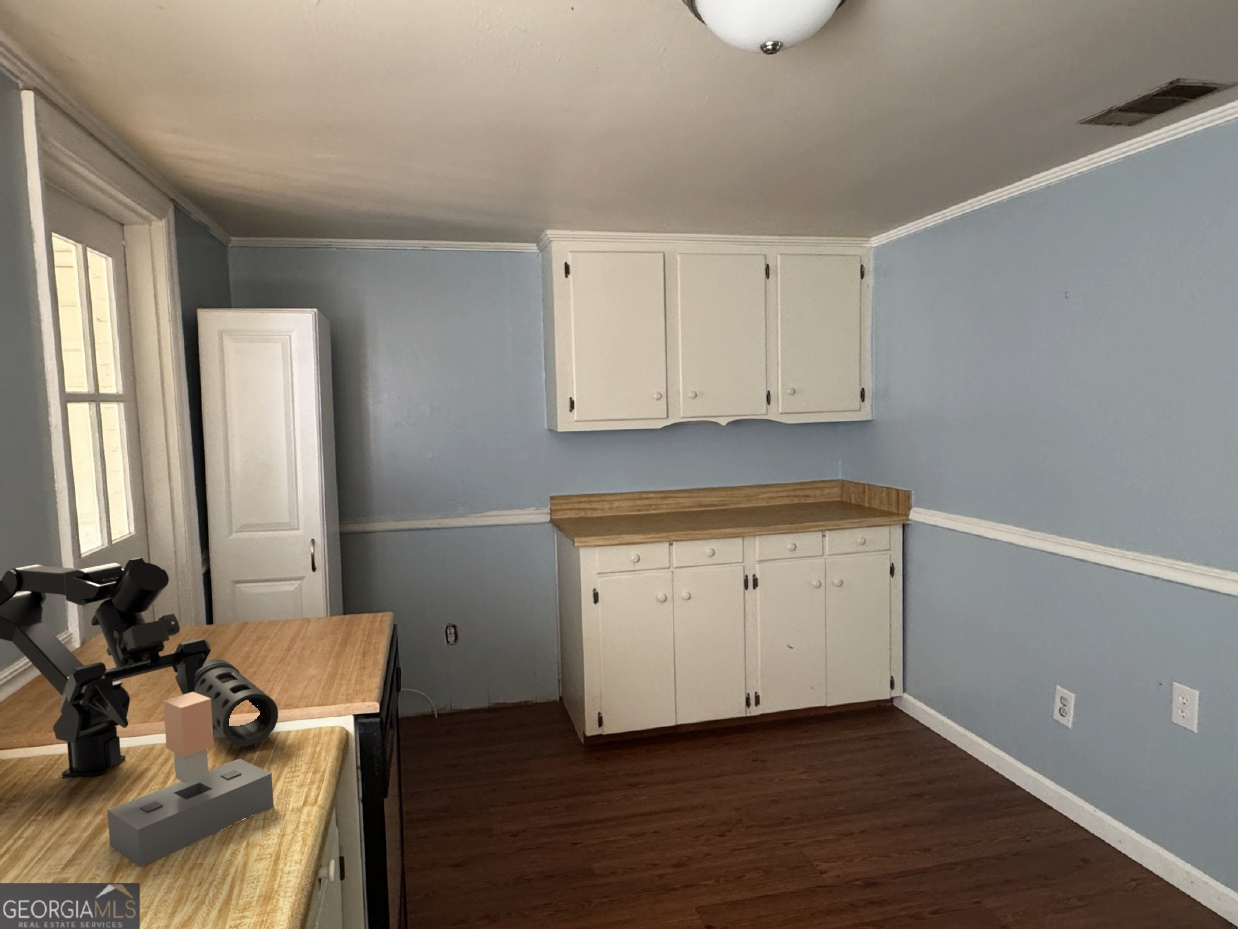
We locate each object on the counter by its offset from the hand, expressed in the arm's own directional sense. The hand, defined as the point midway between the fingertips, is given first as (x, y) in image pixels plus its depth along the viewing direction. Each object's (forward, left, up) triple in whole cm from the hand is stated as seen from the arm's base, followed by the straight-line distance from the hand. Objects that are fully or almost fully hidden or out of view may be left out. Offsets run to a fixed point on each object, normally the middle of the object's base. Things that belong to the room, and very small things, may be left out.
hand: (160, 715), depth 115 cm
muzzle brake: (-5, +26, -13) cm, 30 cm away
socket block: (+9, -8, -13) cm, 17 cm away
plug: (+9, -8, -7) cm, 14 cm away
